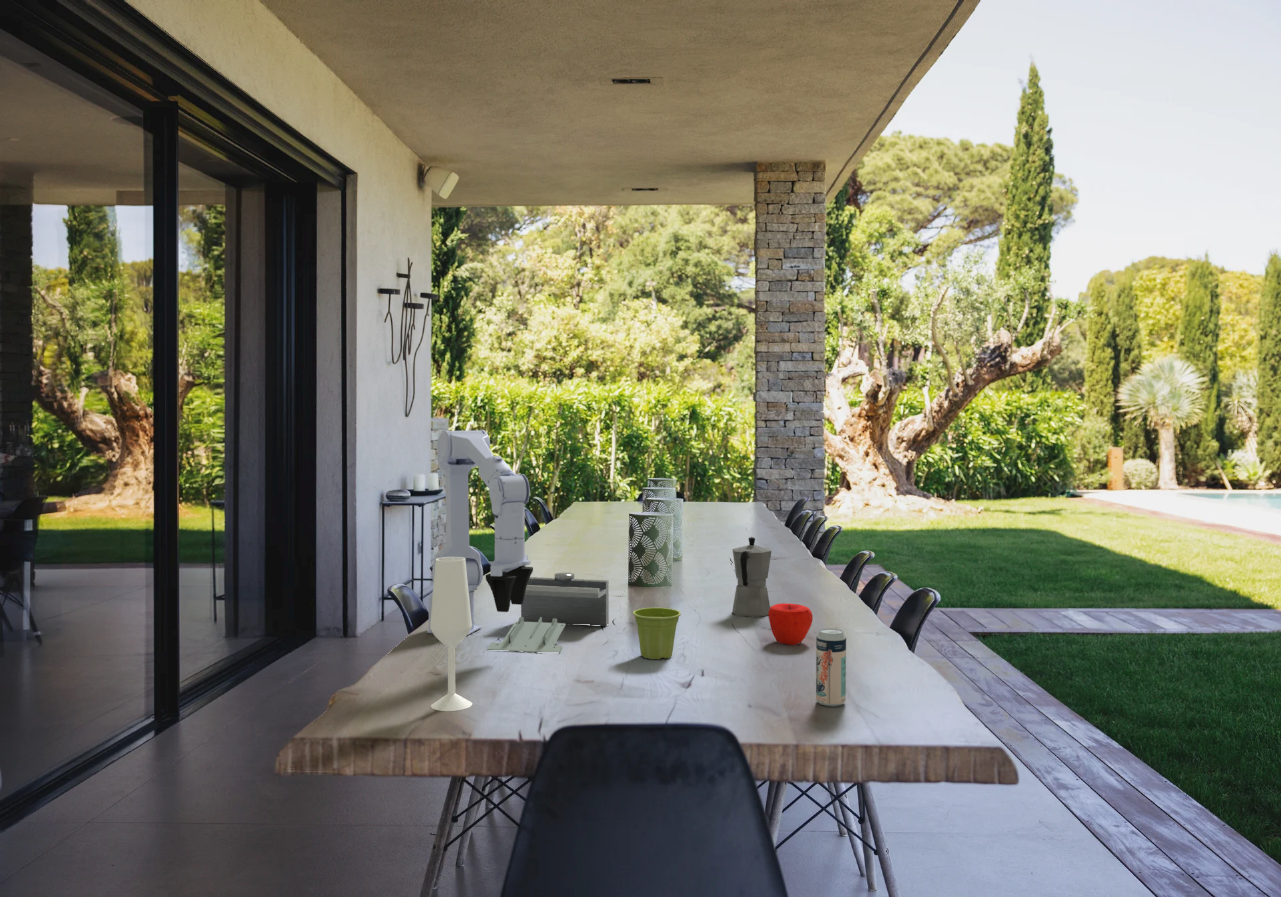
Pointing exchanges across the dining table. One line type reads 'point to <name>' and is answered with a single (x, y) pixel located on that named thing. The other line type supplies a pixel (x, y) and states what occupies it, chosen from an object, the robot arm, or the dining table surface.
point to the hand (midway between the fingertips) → (510, 607)
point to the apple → (790, 622)
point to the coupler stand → (566, 600)
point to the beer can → (831, 667)
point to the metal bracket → (531, 637)
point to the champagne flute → (451, 620)
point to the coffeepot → (751, 580)
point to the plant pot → (656, 631)
